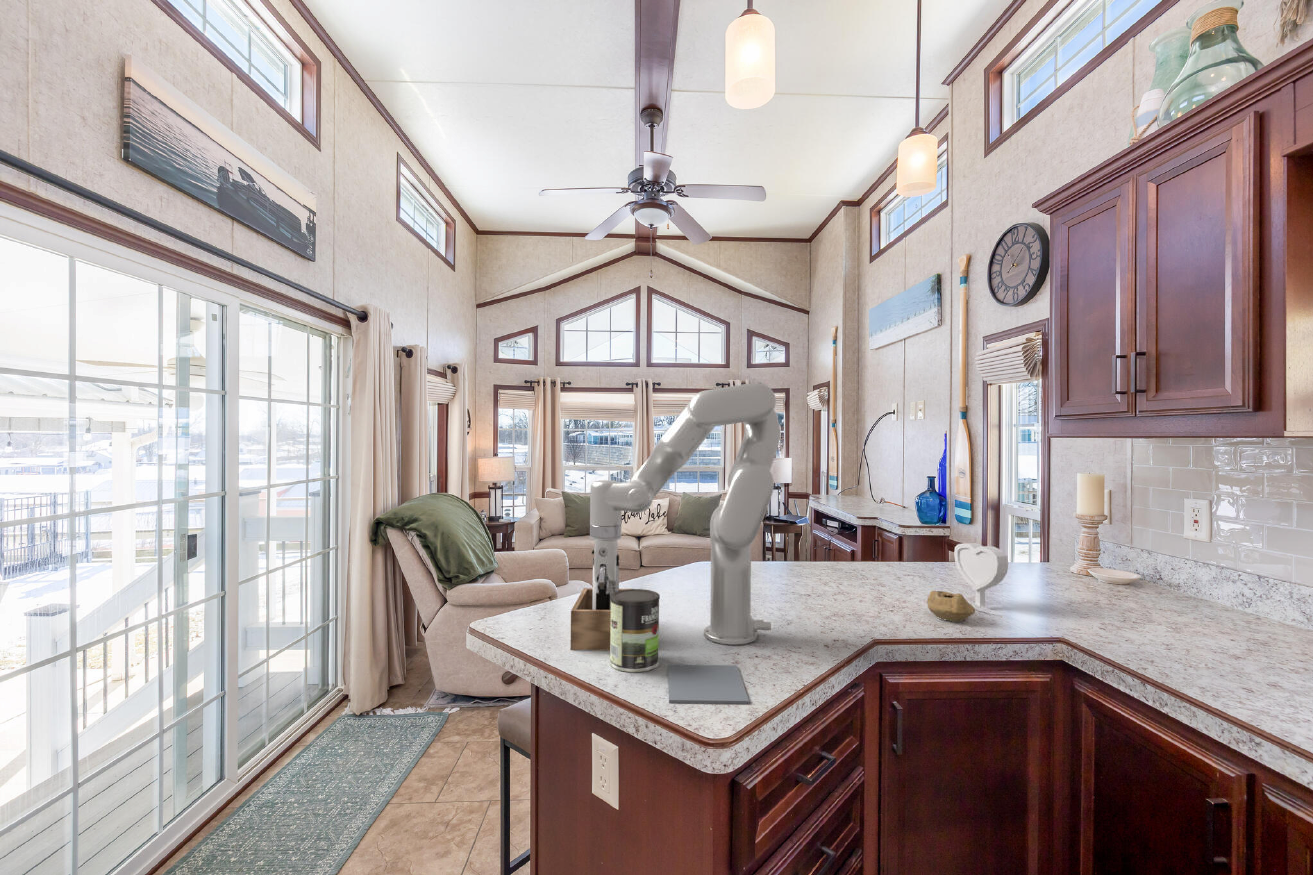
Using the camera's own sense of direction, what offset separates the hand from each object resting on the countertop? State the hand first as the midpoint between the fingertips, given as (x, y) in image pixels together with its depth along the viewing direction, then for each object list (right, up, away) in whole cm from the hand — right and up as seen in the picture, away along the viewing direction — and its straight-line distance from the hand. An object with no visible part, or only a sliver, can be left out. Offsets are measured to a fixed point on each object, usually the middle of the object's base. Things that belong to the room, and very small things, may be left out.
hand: (604, 605), depth 132 cm
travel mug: (0, -7, 0) cm, 7 cm away
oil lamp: (+90, -8, +16) cm, 92 cm away
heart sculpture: (+104, -9, +25) cm, 107 cm away
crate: (0, -7, 0) cm, 7 cm away
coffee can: (+8, -7, -17) cm, 20 cm away
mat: (+22, -7, -27) cm, 36 cm away
